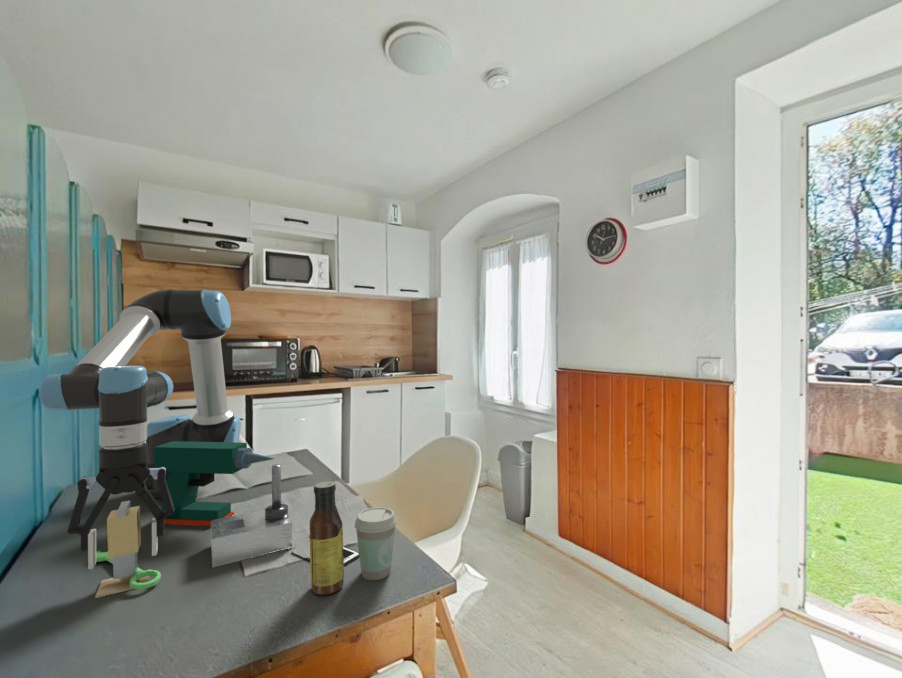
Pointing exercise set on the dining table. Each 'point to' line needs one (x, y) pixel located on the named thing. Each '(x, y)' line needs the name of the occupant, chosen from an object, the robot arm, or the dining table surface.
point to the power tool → (200, 476)
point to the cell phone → (348, 555)
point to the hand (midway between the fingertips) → (124, 558)
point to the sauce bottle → (326, 542)
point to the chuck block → (252, 530)
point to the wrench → (139, 574)
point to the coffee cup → (375, 541)
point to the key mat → (117, 585)
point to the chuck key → (124, 539)
